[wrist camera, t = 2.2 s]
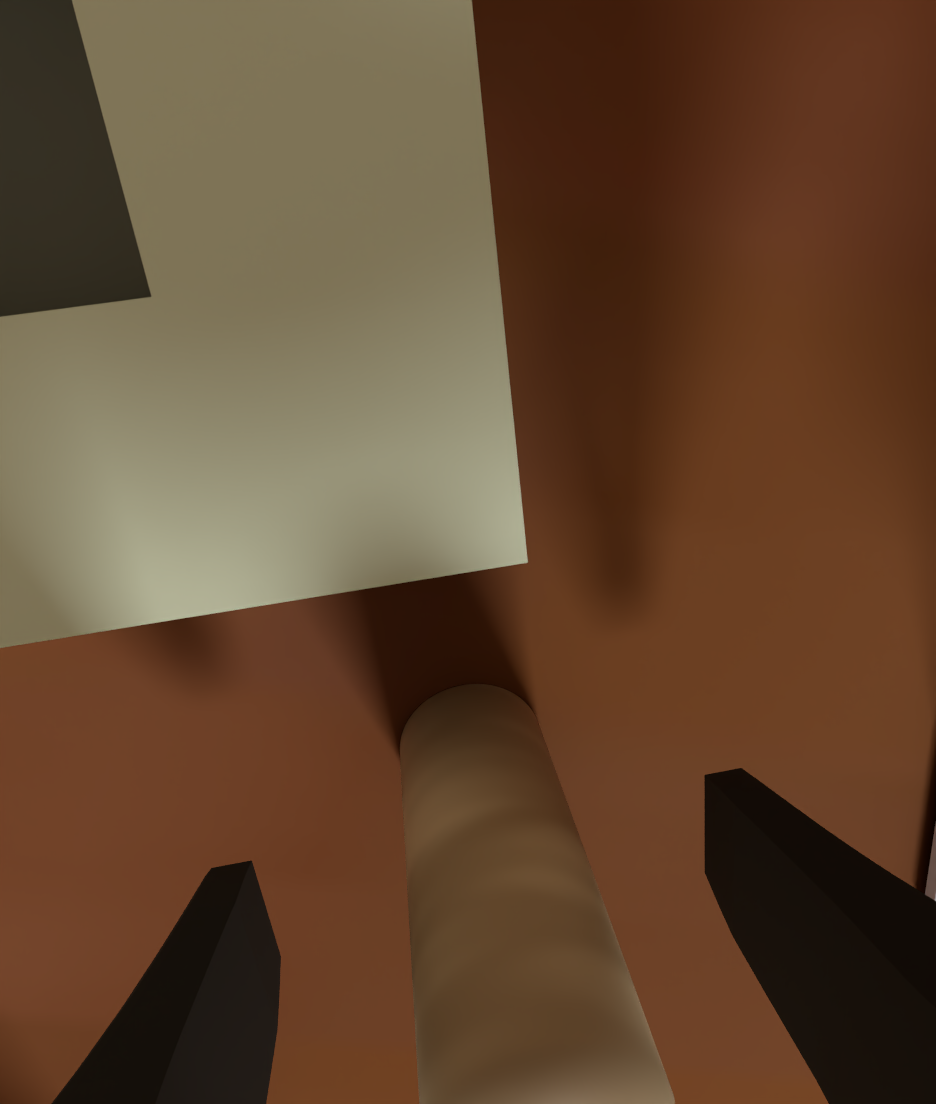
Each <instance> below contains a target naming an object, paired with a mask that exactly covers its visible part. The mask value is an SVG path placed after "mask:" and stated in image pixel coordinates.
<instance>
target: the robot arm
mask: <svg viewBox="0 0 936 1104" xmlns="http://www.w3.org/2000/svg"><path fill="white" fill-rule="evenodd" d="M705 874H706V876H707V879H708V881H709V883H710V886H711V888H712V890H713V893H714V895H715V897H716V900H717V902H718V904H719V907H720V909H721V911H722V913H723V916H724V918H725V920H726V922H727V924H728V927H729V929H730V931H731V933H732V935H733V937H734V939H735V941H736V943H737V944H738V946H739V948H740V950H741V951H742V953H743V955H744V957H745V958H746V960H747V962H748V964H749V965H750V967H751V969H752V971H753V972H754V974H755V976H756V977H757V979H758V981H759V983H760V984H761V986H762V988H763V990H764V991H765V993H766V995H767V996H768V998H769V1000H770V1002H771V1003H772V1005H773V1007H774V1008H775V1010H776V1012H777V1014H778V1015H779V1017H780V1019H781V1020H782V1022H783V1024H784V1026H785V1027H786V1029H787V1031H788V1032H789V1034H790V1036H791V1038H792V1039H793V1041H794V1043H795V1044H796V1046H797V1048H798V1049H799V1051H800V1053H801V1055H802V1056H803V1058H804V1060H805V1061H806V1063H807V1065H808V1067H809V1068H810V1070H811V1072H812V1073H813V1075H814V1077H815V1079H816V1080H817V1082H818V1084H819V1086H820V1088H821V1090H822V1091H823V1093H824V1095H825V1097H826V1099H827V1101H828V1103H829V1104H936V823H935V830H934V837H933V844H932V850H931V857H930V864H929V871H928V877H927V884H926V891H925V894H924V893H922V892H920V891H919V890H917V889H915V888H914V887H912V886H911V885H909V884H907V883H906V882H904V881H903V880H901V879H899V878H898V877H896V876H894V875H893V874H891V873H890V872H888V871H887V870H885V869H884V868H882V867H881V866H879V865H877V864H876V863H874V862H873V861H871V860H870V859H868V858H867V857H865V856H864V855H862V854H861V853H859V852H858V851H856V850H855V849H854V848H852V847H851V846H849V845H848V844H846V843H845V842H843V841H842V840H840V839H839V838H837V837H836V836H835V835H833V834H832V833H830V832H829V831H827V830H826V829H825V828H823V827H822V826H820V825H819V824H818V823H816V822H815V821H813V820H812V819H811V818H809V817H808V816H806V815H805V814H804V813H802V812H801V811H800V810H798V809H797V808H795V807H794V806H793V805H791V804H790V803H789V802H787V801H786V800H784V799H783V798H782V797H780V796H779V795H778V794H776V793H775V792H774V791H772V790H771V789H769V788H768V787H767V786H765V785H764V784H763V783H761V782H760V781H759V780H757V779H756V778H754V777H753V776H752V775H750V774H749V773H747V772H746V771H745V770H743V769H742V768H739V769H734V770H729V771H723V772H718V773H713V774H707V775H705ZM280 964H281V956H280V952H279V949H278V946H277V943H276V939H275V936H274V933H273V929H272V926H271V923H270V919H269V916H268V913H267V910H266V906H265V903H264V900H263V896H262V893H261V890H260V887H259V883H258V880H257V877H256V873H255V870H254V867H253V863H252V861H247V862H241V863H236V864H231V865H225V866H220V867H215V868H211V869H210V871H209V872H208V873H207V875H206V876H205V878H204V879H203V881H202V882H201V884H200V886H199V887H198V889H197V891H196V892H195V894H194V896H193V897H192V899H191V901H190V902H189V904H188V905H187V907H186V909H185V910H184V912H183V914H182V915H181V917H180V919H179V920H178V922H177V923H176V925H175V927H174V928H173V930H172V931H171V933H170V935H169V936H168V938H167V939H166V941H165V943H164V944H163V946H162V947H161V949H160V951H159V952H158V954H157V955H156V957H155V958H154V960H153V961H152V963H151V964H150V966H149V967H148V969H147V970H146V972H145V974H144V975H143V977H142V978H141V980H140V981H139V983H138V984H137V986H136V987H135V989H134V990H133V992H132V993H131V995H130V996H129V998H128V999H127V1001H126V1002H125V1004H124V1005H123V1007H122V1008H121V1010H120V1011H119V1013H118V1014H117V1015H116V1017H115V1018H114V1020H113V1021H112V1022H111V1024H110V1025H109V1027H108V1028H107V1029H106V1031H105V1032H104V1034H103V1035H102V1036H101V1038H100V1039H99V1041H98V1042H97V1043H96V1045H95V1046H94V1048H93V1049H92V1050H91V1052H90V1053H89V1055H88V1056H87V1057H86V1059H85V1060H84V1061H83V1063H82V1064H81V1066H80V1067H79V1068H78V1070H77V1071H76V1072H75V1074H74V1075H73V1076H72V1078H71V1079H70V1080H69V1082H68V1083H67V1084H66V1086H65V1087H64V1088H63V1090H62V1091H61V1092H60V1093H59V1095H58V1096H57V1097H56V1099H55V1100H54V1101H53V1103H52V1104H266V1100H267V1094H268V1088H269V1081H270V1074H271V1068H272V1061H273V1055H274V1048H275V1042H276V1035H277V1026H278V1009H279V989H280Z"/></svg>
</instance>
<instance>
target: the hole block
mask: <svg viewBox="0 0 936 1104" xmlns="http://www.w3.org/2000/svg"><path fill="white" fill-rule="evenodd" d="M522 563H528V561H527V551H526V540H525V530H524V520H523V510H522V500H521V490H520V480H519V470H518V460H517V450H516V440H515V430H514V420H513V410H512V400H511V390H510V380H509V370H508V360H507V350H506V340H505V330H504V320H503V309H502V299H501V289H500V279H499V269H498V259H497V249H496V239H495V229H494V219H493V209H492V199H491V189H490V179H489V169H488V159H487V149H486V139H485V129H484V119H483V109H482V99H481V88H480V78H479V68H478V58H477V48H476V38H475V28H474V18H473V8H472V0H0V648H3V647H9V646H15V645H21V644H27V643H34V642H40V641H46V640H52V639H58V638H64V637H71V636H77V635H83V634H89V633H95V632H102V631H108V630H114V629H120V628H126V627H133V626H139V625H145V624H151V623H157V622H163V621H170V620H176V619H182V618H188V617H194V616H201V615H207V614H213V613H219V612H225V611H232V610H238V609H244V608H250V607H256V606H262V605H269V604H275V603H281V602H287V601H293V600H300V599H306V598H312V597H318V596H324V595H331V594H337V593H343V592H349V591H355V590H361V589H368V588H374V587H380V586H386V585H392V584H399V583H405V582H411V581H417V580H423V579H430V578H436V577H442V576H448V575H454V574H460V573H467V572H473V571H479V570H485V569H491V568H498V567H504V566H510V565H516V564H522Z"/></svg>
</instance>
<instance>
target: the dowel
mask: <svg viewBox="0 0 936 1104" xmlns="http://www.w3.org/2000/svg"><path fill="white" fill-rule="evenodd" d="M400 765H401V783H402V801H403V819H404V836H405V854H406V872H407V890H408V907H409V925H410V943H411V961H412V978H413V996H414V1014H415V1032H416V1050H417V1067H418V1085H419V1103H420V1104H675V1101H674V1095H673V1092H672V1090H671V1087H670V1084H669V1081H668V1078H667V1076H666V1073H665V1070H664V1067H663V1065H662V1062H661V1059H660V1056H659V1054H658V1051H657V1048H656V1045H655V1043H654V1040H653V1037H652V1034H651V1032H650V1029H649V1026H648V1023H647V1021H646V1018H645V1015H644V1012H643V1010H642V1007H641V1004H640V1001H639V999H638V996H637V993H636V990H635V988H634V985H633V982H632V979H631V977H630V974H629V971H628V968H627V966H626V963H625V960H624V957H623V955H622V952H621V949H620V946H619V944H618V941H617V938H616V935H615V933H614V930H613V927H612V924H611V922H610V919H609V916H608V913H607V911H606V908H605V905H604V902H603V900H602V897H601V894H600V891H599V889H598V886H597V883H596V880H595V878H594V875H593V872H592V869H591V867H590V864H589V861H588V858H587V856H586V853H585V850H584V847H583V845H582V842H581V839H580V836H579V834H578V831H577V828H576V825H575V823H574V820H573V817H572V814H571V812H570V809H569V806H568V803H567V801H566V798H565V795H564V792H563V790H562V787H561V784H560V781H559V779H558V776H557V773H556V770H555V768H554V765H553V762H552V759H551V757H550V754H549V751H548V748H547V746H546V743H545V740H544V737H543V735H542V732H541V729H540V726H539V724H538V721H537V718H536V716H535V714H534V713H533V711H532V710H531V708H530V707H529V706H528V705H527V704H526V703H525V702H524V701H523V700H522V699H521V698H520V697H518V696H517V695H515V694H514V693H512V692H510V691H508V690H506V689H503V688H500V687H497V686H493V685H486V684H467V685H460V686H456V687H452V688H449V689H446V690H443V691H441V692H439V693H437V694H435V695H434V696H432V697H430V698H429V699H427V700H426V701H425V702H424V703H422V704H421V705H420V706H419V707H418V708H417V709H416V710H415V711H414V712H413V714H412V715H411V717H410V718H409V719H408V721H407V723H406V725H405V727H404V730H403V732H402V735H401V740H400Z"/></svg>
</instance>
